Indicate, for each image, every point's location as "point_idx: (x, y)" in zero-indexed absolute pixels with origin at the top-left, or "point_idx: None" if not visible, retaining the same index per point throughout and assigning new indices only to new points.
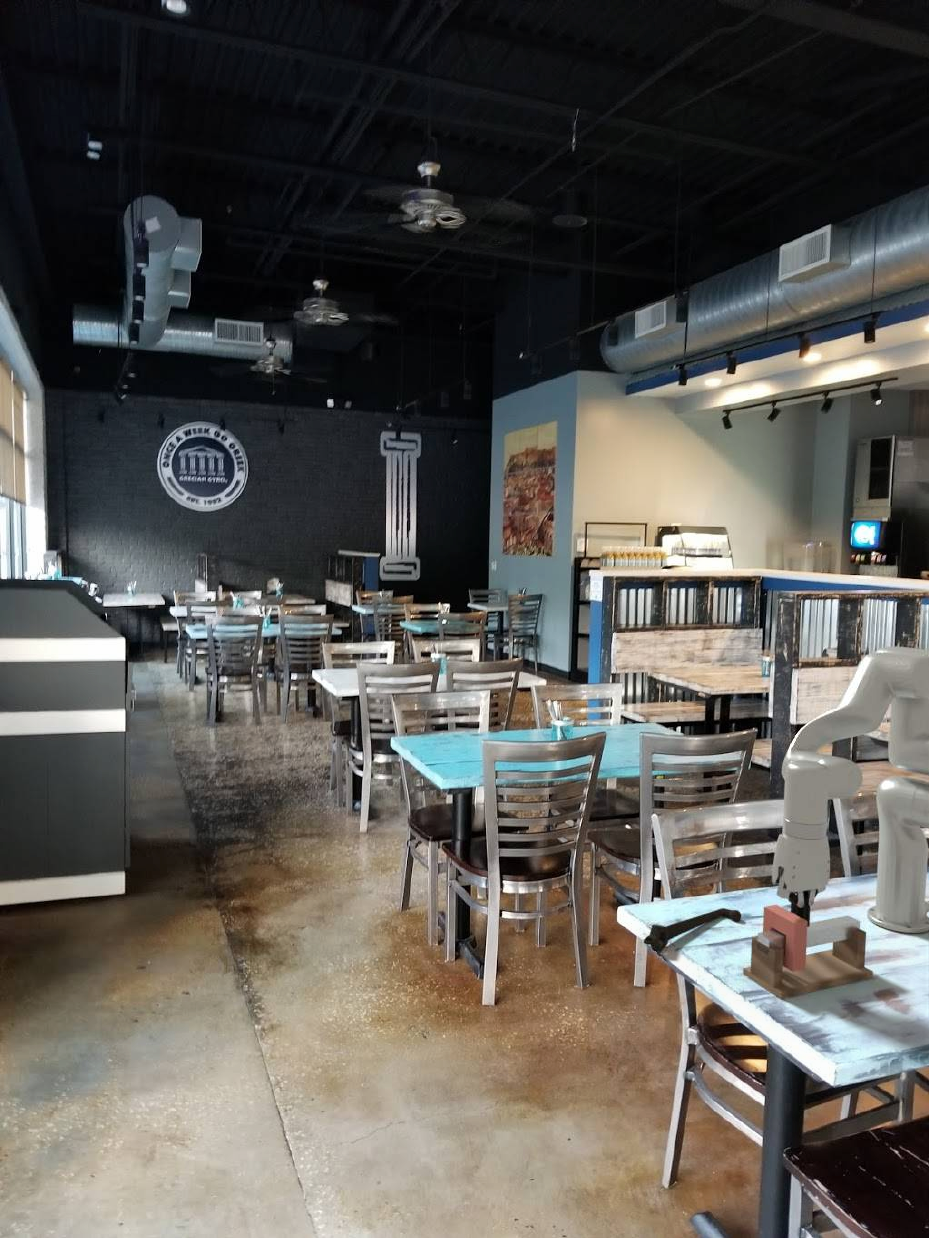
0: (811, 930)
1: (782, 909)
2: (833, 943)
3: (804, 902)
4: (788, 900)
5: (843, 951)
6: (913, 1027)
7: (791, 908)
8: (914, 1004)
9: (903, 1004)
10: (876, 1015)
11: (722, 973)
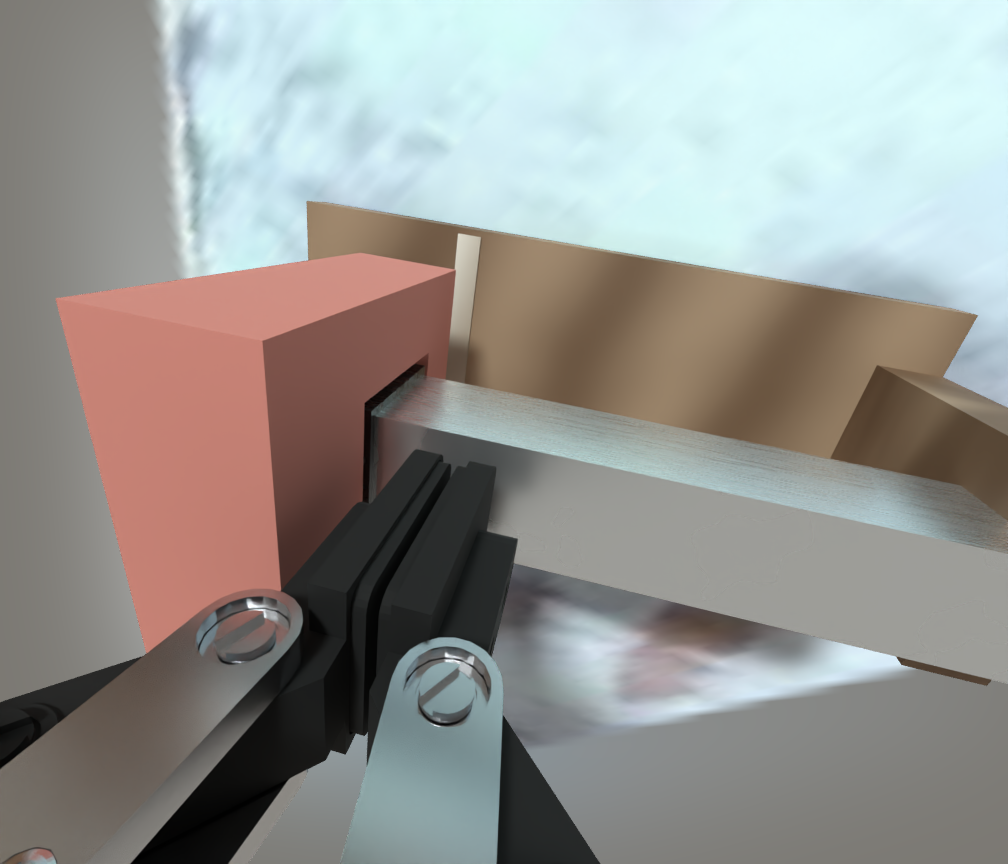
0: (524, 557)
1: (238, 480)
2: (917, 394)
3: (367, 756)
4: (211, 604)
5: (866, 463)
6: (562, 731)
7: (300, 570)
8: (713, 700)
9: (681, 681)
10: (532, 657)
11: (238, 135)
